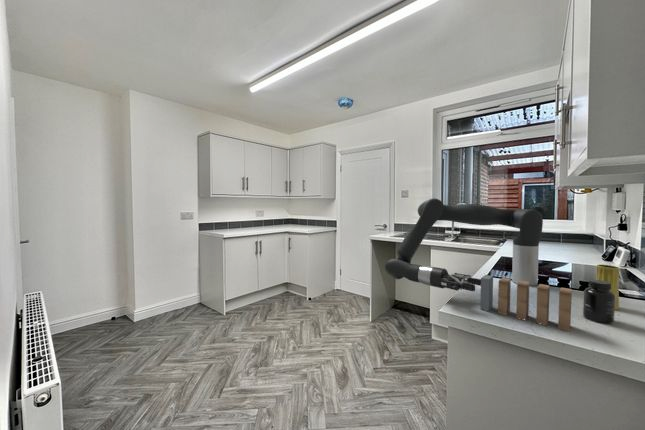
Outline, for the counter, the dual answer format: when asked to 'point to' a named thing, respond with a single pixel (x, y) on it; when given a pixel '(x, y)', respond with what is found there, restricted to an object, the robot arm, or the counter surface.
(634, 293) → the counter surface
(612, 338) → the counter surface
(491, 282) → the domino
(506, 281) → the domino
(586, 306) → the supplement bottle
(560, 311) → the domino
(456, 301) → the counter surface
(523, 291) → the domino
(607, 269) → the vase
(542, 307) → the domino
